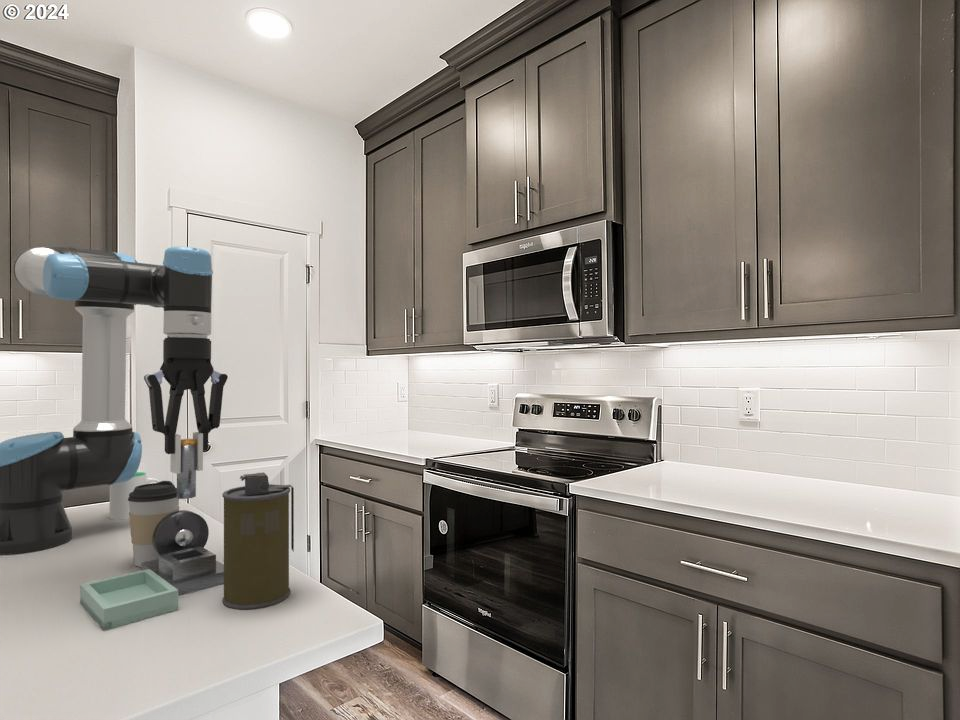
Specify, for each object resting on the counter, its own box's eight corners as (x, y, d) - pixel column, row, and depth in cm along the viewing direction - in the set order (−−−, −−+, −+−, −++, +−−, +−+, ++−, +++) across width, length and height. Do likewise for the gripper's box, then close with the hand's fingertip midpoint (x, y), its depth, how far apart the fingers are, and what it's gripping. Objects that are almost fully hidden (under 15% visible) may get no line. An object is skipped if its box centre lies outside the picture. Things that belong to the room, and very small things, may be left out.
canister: (224, 614, 89) (224, 482, 89) (220, 591, 98) (220, 472, 98) (298, 601, 94) (298, 476, 94) (287, 580, 103) (287, 466, 103)
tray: (80, 603, 93) (80, 584, 94) (149, 586, 101) (149, 568, 101) (103, 630, 84) (103, 609, 84) (178, 609, 91) (178, 590, 91)
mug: (157, 507, 158) (157, 469, 158) (167, 512, 152) (167, 472, 153) (106, 515, 150) (106, 475, 150) (114, 521, 144) (114, 479, 144)
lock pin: (174, 496, 102) (174, 439, 102) (192, 494, 104) (192, 438, 104) (180, 499, 100) (180, 441, 100) (198, 496, 102) (199, 439, 102)
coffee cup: (157, 570, 109) (157, 489, 109) (115, 567, 110) (116, 487, 111) (190, 555, 117) (190, 480, 118) (151, 552, 119) (151, 478, 120)
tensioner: (141, 573, 107) (141, 513, 107) (198, 560, 114) (198, 504, 114) (171, 597, 96) (171, 529, 96) (232, 581, 103) (232, 518, 103)
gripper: (143, 334, 94) (142, 480, 94) (242, 337, 105) (241, 468, 105) (129, 335, 99) (128, 474, 99) (225, 338, 111) (224, 462, 111)
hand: (186, 470), depth 102 cm, fingers closed on lock pin, 3 cm apart
